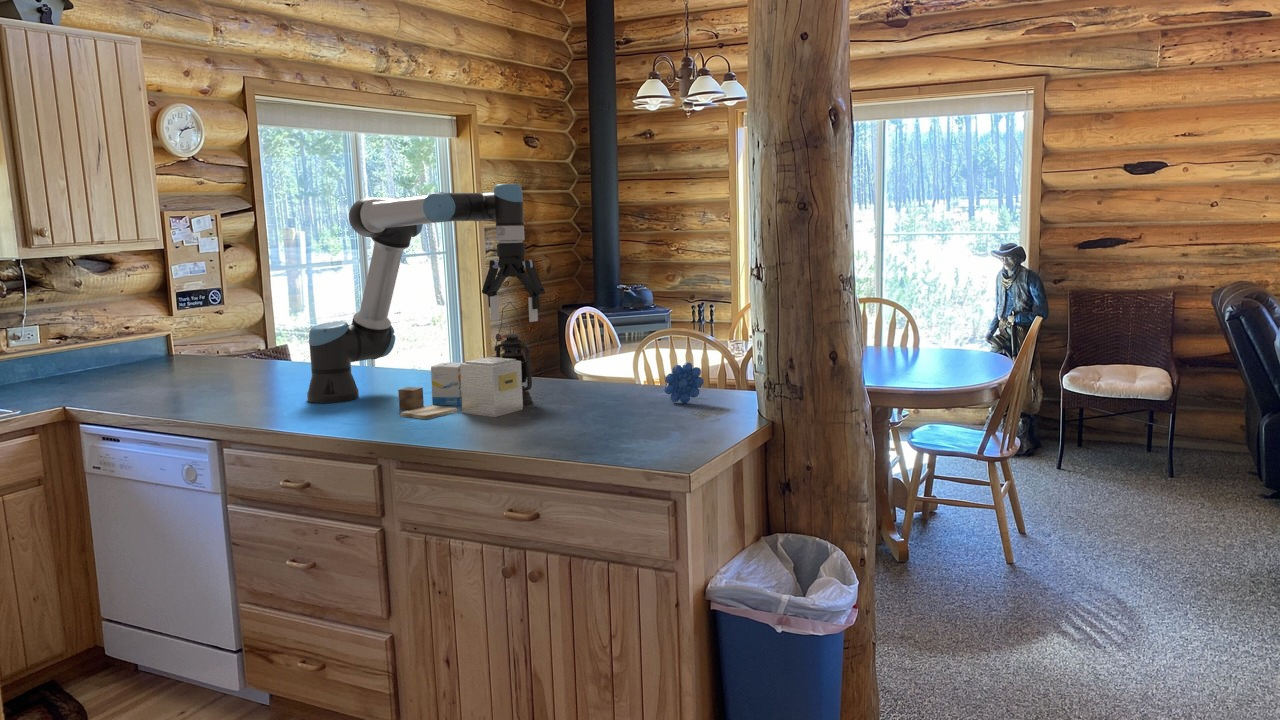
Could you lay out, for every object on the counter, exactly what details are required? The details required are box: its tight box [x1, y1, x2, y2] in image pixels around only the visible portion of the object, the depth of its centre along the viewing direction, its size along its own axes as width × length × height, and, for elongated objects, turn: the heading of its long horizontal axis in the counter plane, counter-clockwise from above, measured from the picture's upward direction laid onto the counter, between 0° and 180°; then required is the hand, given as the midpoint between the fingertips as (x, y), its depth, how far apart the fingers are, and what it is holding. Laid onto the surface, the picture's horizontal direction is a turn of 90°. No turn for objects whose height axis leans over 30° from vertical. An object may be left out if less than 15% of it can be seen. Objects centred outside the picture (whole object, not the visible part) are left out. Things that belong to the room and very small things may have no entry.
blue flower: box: [664, 362, 704, 404], centre depth 276 cm, size 12×7×12 cm, turn 74°
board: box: [400, 404, 458, 420], centre depth 269 cm, size 10×12×1 cm
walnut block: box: [397, 386, 425, 412], centre depth 276 cm, size 5×5×6 cm
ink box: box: [430, 361, 464, 407], centre depth 283 cm, size 9×8×12 cm
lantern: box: [494, 301, 533, 406], centre depth 280 cm, size 12×11×30 cm
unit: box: [460, 356, 524, 418], centre depth 269 cm, size 12×12×15 cm
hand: (514, 320), depth 260 cm, fingers open, 13 cm apart
